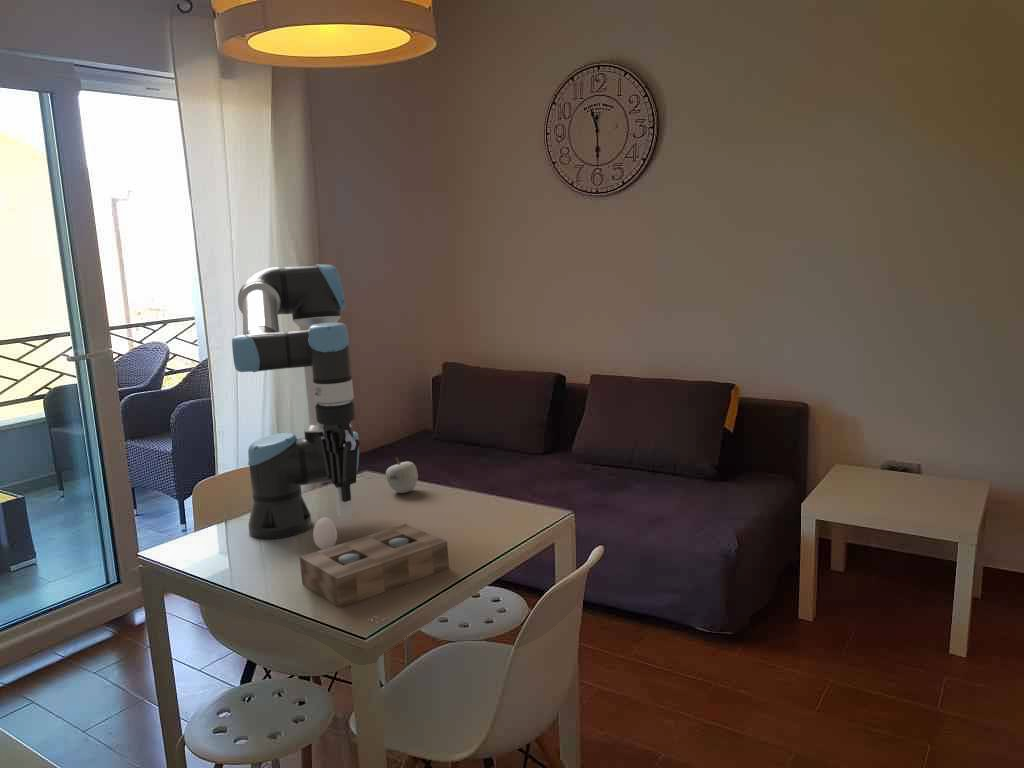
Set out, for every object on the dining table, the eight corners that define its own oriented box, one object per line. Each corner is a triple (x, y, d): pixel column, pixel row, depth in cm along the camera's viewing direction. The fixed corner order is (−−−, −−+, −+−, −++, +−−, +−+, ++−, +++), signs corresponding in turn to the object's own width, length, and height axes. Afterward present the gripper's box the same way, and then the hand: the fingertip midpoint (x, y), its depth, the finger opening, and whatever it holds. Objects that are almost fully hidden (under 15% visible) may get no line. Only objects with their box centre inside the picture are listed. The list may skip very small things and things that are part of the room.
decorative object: (418, 496, 225) (415, 461, 223) (385, 498, 225) (383, 463, 223) (420, 486, 234) (417, 452, 232) (389, 488, 233) (386, 454, 231)
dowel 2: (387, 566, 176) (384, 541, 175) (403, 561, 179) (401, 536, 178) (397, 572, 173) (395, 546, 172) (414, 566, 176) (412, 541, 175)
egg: (317, 555, 185) (314, 523, 184) (312, 548, 190) (309, 516, 189) (341, 550, 188) (338, 518, 186) (334, 543, 192) (332, 512, 191)
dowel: (337, 584, 169) (334, 557, 168) (355, 577, 171) (352, 552, 170) (347, 589, 166) (344, 563, 165) (365, 583, 168) (363, 557, 167)
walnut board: (302, 584, 170) (299, 556, 169) (407, 548, 187) (405, 523, 186) (340, 607, 158) (337, 578, 157) (449, 567, 175) (447, 541, 173)
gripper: (301, 400, 164) (312, 512, 169) (333, 409, 154) (344, 528, 159) (335, 394, 169) (345, 503, 174) (368, 402, 159) (377, 518, 164)
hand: (344, 515), depth 166 cm, fingers closed
